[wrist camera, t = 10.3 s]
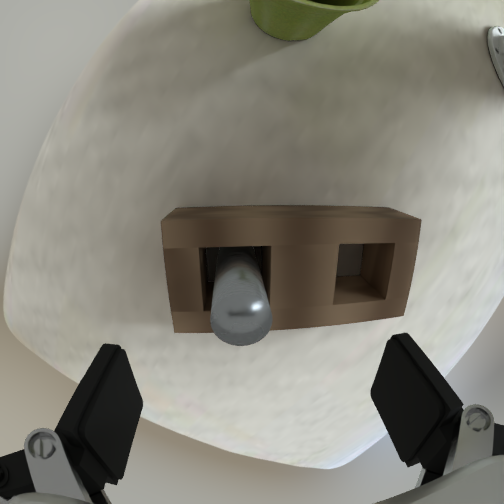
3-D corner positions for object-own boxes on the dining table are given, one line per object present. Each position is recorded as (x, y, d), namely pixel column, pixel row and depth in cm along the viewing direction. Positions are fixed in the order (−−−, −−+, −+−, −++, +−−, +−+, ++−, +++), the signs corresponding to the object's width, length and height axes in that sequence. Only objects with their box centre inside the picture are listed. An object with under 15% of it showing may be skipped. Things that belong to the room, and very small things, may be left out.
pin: (254, 236, 22) (273, 292, 13) (255, 272, 23) (271, 344, 14) (217, 237, 22) (208, 294, 13) (218, 273, 23) (212, 346, 14)
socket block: (388, 207, 22) (421, 219, 18) (377, 290, 25) (403, 315, 20) (175, 208, 21) (160, 221, 16) (183, 300, 24) (174, 332, 19)
